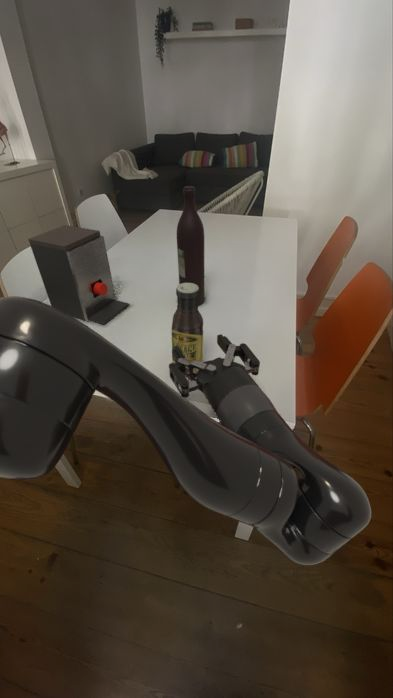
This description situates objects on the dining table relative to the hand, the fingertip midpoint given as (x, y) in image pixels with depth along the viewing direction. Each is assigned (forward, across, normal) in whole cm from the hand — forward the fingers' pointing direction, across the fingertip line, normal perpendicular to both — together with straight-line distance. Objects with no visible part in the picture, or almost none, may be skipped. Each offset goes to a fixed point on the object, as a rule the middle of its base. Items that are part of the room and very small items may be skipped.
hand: (197, 344), depth 58 cm
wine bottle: (+33, -12, +11) cm, 37 cm away
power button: (+37, +12, +6) cm, 40 cm away
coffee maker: (+41, +15, +11) cm, 45 cm away
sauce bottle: (+5, 0, +11) cm, 12 cm away
